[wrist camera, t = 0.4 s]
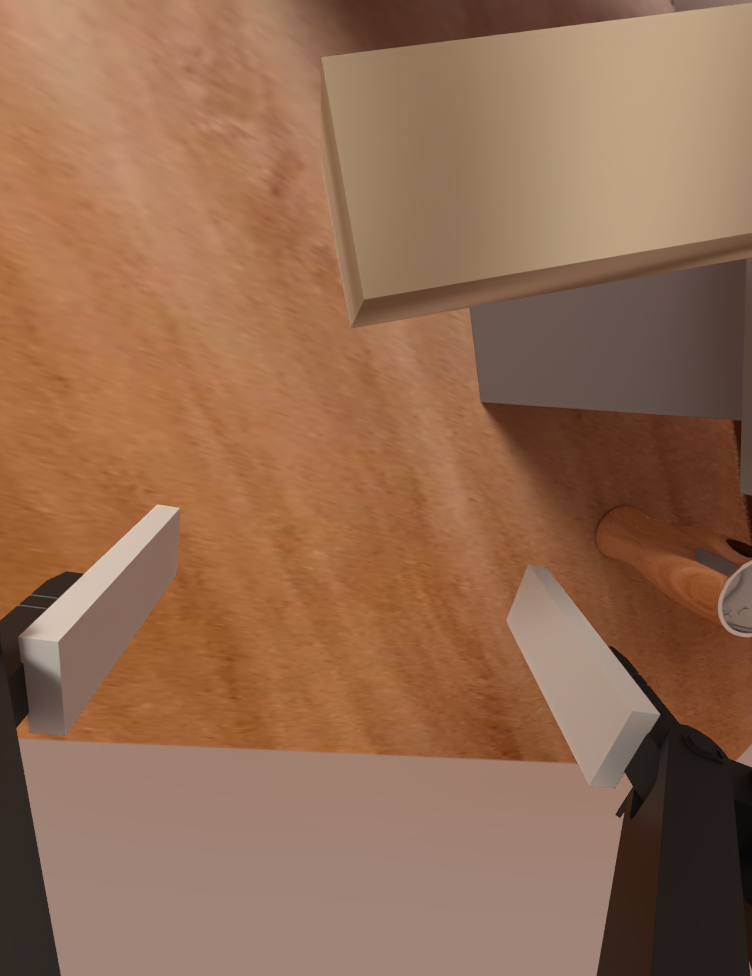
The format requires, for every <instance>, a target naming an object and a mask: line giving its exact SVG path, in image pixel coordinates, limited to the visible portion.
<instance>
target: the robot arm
mask: <svg viewBox="0 0 752 976" xmlns="http://www.w3.org/2000/svg"><path fill="white" fill-rule="evenodd" d="M179 520H180V508H176V507H170V506H164V505H158V504H157V505H156V506H155V507H154V508H153V509H152V510H151V511H150V512H149V513H148V514H147V515H146V516H145V517H144V518H143V519H142V520H141V521H139V522H138V523H137V524H136V525H135V526H134V527H133V528H132V529H131V530H130V531H129V532H128V533H127V534H126V535H125V536H124V537H123V538H122V539H121V540H119V541H118V542H117V543H116V544H115V545H114V546H113V547H112V548H111V549H110V550H109V551H108V552H107V553H106V554H105V555H104V556H103V557H102V558H101V559H100V560H98V561H97V562H96V563H95V564H94V565H93V566H92V567H91V568H90V569H89V570H88V571H87V572H86V573H85V574H82V573H75V572H68V571H67V572H65V573H62V574H60V575H58V576H56V577H54V578H52V579H50V580H47V581H46V582H45V583H44V584H42V585H41V586H40V587H39V588H38V589H37V590H35V591H34V592H33V593H32V595H31V596H28V597H27V598H26V599H25V600H24V601H23V602H21V603H20V606H17V607H16V608H14V609H13V610H12V611H11V612H10V613H9V614H7V615H6V616H5V617H4V618H3V619H2V620H0V976H61V975H60V969H59V963H58V958H57V952H56V947H55V942H54V936H53V930H52V925H51V919H50V914H49V908H48V902H47V897H46V891H45V886H44V880H43V875H42V869H41V864H40V858H39V853H38V847H37V841H36V836H35V831H34V825H33V819H32V814H31V808H30V802H29V798H28V792H27V786H26V780H25V775H24V769H23V764H22V758H21V753H20V747H19V742H18V736H17V730H16V728H17V726H18V725H19V724H20V723H21V722H22V720H23V719H24V718H25V717H26V715H27V716H28V724H29V732H30V733H41V734H51V735H62V736H66V734H67V733H68V731H69V730H70V729H71V727H72V726H73V724H74V723H75V721H76V720H77V718H78V717H79V715H80V714H81V713H82V711H83V710H84V708H85V707H86V705H87V704H88V702H89V701H90V699H91V698H92V697H93V695H94V694H95V692H96V691H97V689H98V688H99V686H100V685H101V683H102V682H103V681H104V679H105V678H106V676H107V675H108V673H109V672H110V670H111V669H112V668H113V666H114V665H115V663H116V662H117V660H118V659H119V657H120V656H121V654H122V653H123V652H124V650H125V649H126V647H127V646H128V644H129V643H130V641H131V640H132V638H133V637H134V636H135V634H136V633H137V631H138V630H139V628H140V627H141V625H142V624H143V623H144V621H145V620H146V618H147V617H148V615H149V614H150V612H151V611H152V609H153V608H154V607H155V605H156V604H157V602H158V601H159V599H160V598H161V596H162V595H163V593H164V592H165V591H166V589H167V588H168V586H169V585H170V583H171V582H172V580H173V579H174V578H175V576H176V575H177V563H178V541H179ZM506 622H507V624H508V626H509V628H510V630H511V632H512V634H513V636H514V638H515V640H516V642H517V644H518V646H519V648H520V650H521V652H522V654H523V656H524V658H525V660H526V662H527V664H528V666H529V668H530V670H531V672H532V674H533V676H534V678H535V680H536V682H537V684H538V686H539V688H540V690H541V692H542V694H543V696H544V698H545V700H546V701H547V703H548V705H549V707H550V709H551V711H552V713H553V715H554V717H555V719H556V721H557V723H558V725H559V727H560V729H561V731H562V733H563V735H564V737H565V739H566V741H567V743H568V745H569V747H570V749H571V751H572V753H573V755H574V757H575V759H576V761H577V763H578V765H579V767H580V769H581V771H582V773H583V775H584V777H585V779H586V781H587V783H588V784H589V786H596V787H607V788H615V787H616V786H617V784H618V783H619V781H620V779H621V778H622V776H623V774H624V773H626V775H627V777H628V778H629V780H630V782H631V783H632V785H633V788H632V789H631V791H630V792H629V794H628V796H627V797H626V798H625V800H624V802H623V803H622V805H621V806H620V808H619V809H618V811H617V813H616V815H617V816H618V817H619V818H620V817H621V816H622V814H623V813H624V819H623V825H622V830H621V836H620V842H619V848H618V854H617V860H616V866H615V872H614V877H613V883H612V889H611V895H610V901H609V907H608V913H607V918H606V924H605V930H604V937H603V942H602V948H601V954H600V960H599V966H598V971H597V976H750V968H749V962H750V965H751V968H752V767H749V766H746V765H744V764H741V763H739V762H736V761H733V760H731V759H728V757H727V756H726V755H725V753H724V752H723V751H722V749H721V748H720V747H719V746H718V745H717V744H716V743H715V742H714V741H712V740H711V739H710V738H709V737H707V736H706V735H704V734H703V733H701V732H700V731H698V730H696V729H694V728H692V727H690V726H687V725H682V724H679V723H678V721H677V720H676V719H675V718H674V716H673V715H672V714H671V713H670V711H669V710H668V709H667V708H666V706H665V705H664V704H663V703H662V701H661V700H660V699H659V698H658V696H657V695H656V694H655V693H654V691H653V690H652V689H651V688H650V686H647V683H646V681H645V680H644V679H643V678H642V676H641V675H638V672H637V670H636V669H635V668H634V667H633V665H632V664H631V663H630V662H629V660H628V659H627V658H626V657H624V656H623V655H622V654H621V653H619V652H618V651H617V650H616V649H615V648H613V647H611V646H607V645H606V644H605V642H604V641H603V640H602V638H601V637H600V636H599V635H598V633H597V632H596V631H595V629H594V628H593V627H592V625H591V624H590V623H589V622H588V620H587V619H586V618H585V616H584V615H583V614H582V613H581V611H580V610H579V609H578V607H577V606H576V605H575V604H574V602H573V601H572V600H571V598H570V597H569V596H568V595H567V593H566V592H565V591H564V589H563V588H562V587H561V585H560V584H559V583H558V582H557V580H556V579H555V578H554V576H553V575H552V574H551V573H550V571H549V570H548V569H547V567H541V566H534V565H528V567H527V569H526V572H525V574H524V577H523V579H522V582H521V584H520V587H519V589H518V592H517V594H516V597H515V600H514V602H513V605H512V607H511V610H510V612H509V615H508V617H507V620H506Z"/></svg>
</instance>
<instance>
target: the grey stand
mask: <svg viewBox="0 0 752 976" xmlns="http://www.w3.org/2000/svg"><path fill="white" fill-rule="evenodd" d="M470 314H471V323H472V331H473V339H474V348H475V356H476V364H477V373H478V381H479V390H480V398H481V402H486V403H500V404H515V405H529V406H543V407H558V408H572V409H586V410H601V411H615V412H629V413H644V414H658V415H672V416H687V417H701V418H715V419H730V420H742V430H741V464H740V493H743V494H747V495H751V496H752V257H751V258H746V259H740V260H734V261H729V262H723V263H717V264H712V265H706V266H701V267H695V268H689V269H684V270H678V271H672V272H667V273H661V274H655V275H650V276H644V277H638V278H633V279H627V280H622V281H616V282H610V283H605V284H599V285H593V286H588V287H582V288H576V289H571V290H565V291H560V292H554V293H548V294H543V295H537V296H531V297H526V298H520V299H514V300H509V301H503V302H498V303H492V304H486V305H481V306H475V307H470Z"/></svg>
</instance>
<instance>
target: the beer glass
mask: <svg viewBox="0 0 752 976" xmlns="http://www.w3.org/2000/svg"><path fill="white" fill-rule="evenodd" d="M596 544H597V547H598V549H599V550H600V552H601V553H602V554H603V555H604V556H606V557H607V558H609V559H612V560H615V561H618V562H622V563H625V564H627V565H629V566H631V567H632V568H634V569H635V570H636V571H638V572H639V573H640V574H641V575H642V576H643V577H644V578H646V579H647V580H648V581H649V582H650V583H651V584H652V585H653V586H655V587H656V588H657V589H658V590H659V591H660V592H662V593H663V594H664V595H665V596H667V597H668V598H669V599H671V600H672V601H674V602H675V603H677V604H678V605H680V606H681V607H683V608H684V609H686V610H688V611H690V612H692V613H693V614H695V615H697V616H699V617H701V618H703V619H705V620H707V621H709V622H711V623H713V624H715V625H717V626H719V627H721V628H723V629H725V630H727V631H729V632H730V633H732V634H734V635H736V636H740V637H752V546H750V545H748V544H746V543H743V542H741V541H738V540H736V539H733V538H731V537H728V536H725V535H722V534H719V533H715V532H712V531H708V530H703V529H699V528H694V527H688V526H682V525H676V524H670V523H665V522H661V521H658V520H655V519H653V518H651V517H650V516H648V515H647V514H645V513H644V512H642V511H641V510H639V509H637V508H635V507H630V506H623V507H618V508H616V509H613V510H612V511H610V512H609V513H607V514H606V515H605V516H604V517H603V519H602V520H601V521H600V523H599V525H598V527H597V531H596Z"/></svg>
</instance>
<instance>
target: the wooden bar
mask: <svg viewBox="0 0 752 976" xmlns="http://www.w3.org/2000/svg"><path fill="white" fill-rule="evenodd" d="M321 112H322V176H323V182H324V187H325V192H326V198H327V203H328V209H329V214H330V219H331V225H332V230H333V236H334V241H335V246H336V252H337V257H338V263H339V268H340V273H341V279H342V284H343V289H344V295H345V300H346V306H347V311H348V316H349V322H350V327H351V328H357V327H362V326H368V325H373V324H379V323H385V322H390V321H396V320H402V319H407V318H413V317H419V316H424V315H430V314H435V313H441V312H447V311H452V310H458V309H464V308H469V307H475V306H481V305H486V304H492V303H498V302H503V301H509V300H514V299H520V298H526V297H531V296H537V295H543V294H548V293H554V292H560V291H565V290H571V289H576V288H582V287H588V286H593V285H599V284H605V283H610V282H616V281H622V280H627V279H633V278H638V277H644V276H650V275H655V274H661V273H667V272H672V271H678V270H684V269H689V268H695V267H701V266H706V265H712V264H717V263H723V262H729V261H734V260H740V259H746V258H751V257H752V3H747V4H739V5H731V6H723V7H715V8H708V9H700V10H691V11H683V12H675V13H667V14H659V15H651V16H643V17H635V18H627V19H619V20H611V21H604V22H596V23H588V24H580V25H572V26H564V27H556V28H548V29H540V30H532V31H524V32H516V33H508V34H500V35H492V36H484V37H476V38H469V39H461V40H453V41H445V42H437V43H429V44H421V45H413V46H405V47H397V48H389V49H381V50H373V51H365V52H357V53H349V54H341V55H334V56H326V57H321Z"/></svg>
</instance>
